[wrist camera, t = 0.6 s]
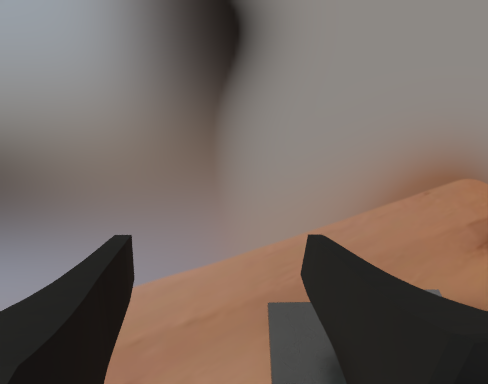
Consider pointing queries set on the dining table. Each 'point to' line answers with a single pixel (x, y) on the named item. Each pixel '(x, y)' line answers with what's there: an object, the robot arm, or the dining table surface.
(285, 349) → the plate
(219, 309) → the dining table surface
